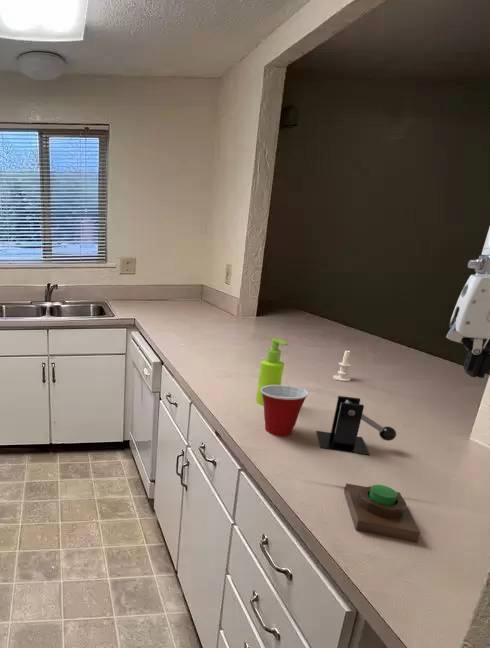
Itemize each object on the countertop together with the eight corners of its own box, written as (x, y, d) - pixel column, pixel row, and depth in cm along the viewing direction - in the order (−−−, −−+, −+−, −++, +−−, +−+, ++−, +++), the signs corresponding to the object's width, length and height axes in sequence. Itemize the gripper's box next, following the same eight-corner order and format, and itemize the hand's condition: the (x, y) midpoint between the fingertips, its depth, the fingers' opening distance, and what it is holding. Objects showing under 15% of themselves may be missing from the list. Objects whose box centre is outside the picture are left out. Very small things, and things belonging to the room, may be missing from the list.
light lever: (386, 439, 101) (397, 429, 99) (390, 445, 98) (401, 435, 96) (337, 406, 102) (347, 396, 101) (339, 412, 99) (350, 402, 98)
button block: (343, 492, 86) (347, 475, 84) (397, 502, 83) (402, 484, 81) (355, 530, 75) (360, 511, 74) (417, 543, 72) (423, 523, 71)
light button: (366, 490, 80) (368, 482, 80) (392, 495, 79) (394, 487, 78) (371, 503, 77) (373, 494, 76) (398, 508, 75) (400, 499, 75)
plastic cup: (275, 421, 117) (281, 379, 112) (310, 438, 107) (318, 393, 103) (245, 429, 112) (250, 386, 108) (278, 447, 103) (286, 401, 99)
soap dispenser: (265, 411, 122) (276, 343, 116) (251, 402, 129) (260, 336, 122) (283, 409, 124) (295, 341, 117) (268, 400, 130) (278, 335, 123)
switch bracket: (360, 441, 106) (371, 396, 102) (369, 459, 98) (380, 411, 94) (315, 434, 109) (323, 391, 105) (319, 451, 101) (329, 405, 97)
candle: (352, 382, 144) (358, 352, 140) (334, 380, 146) (340, 350, 142) (349, 377, 149) (355, 348, 145) (331, 375, 150) (337, 346, 147)
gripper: (461, 268, 69) (430, 377, 75) (585, 271, 64) (540, 387, 70) (443, 264, 75) (416, 364, 82) (554, 267, 70) (516, 373, 77)
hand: (473, 374), depth 76 cm, fingers closed
